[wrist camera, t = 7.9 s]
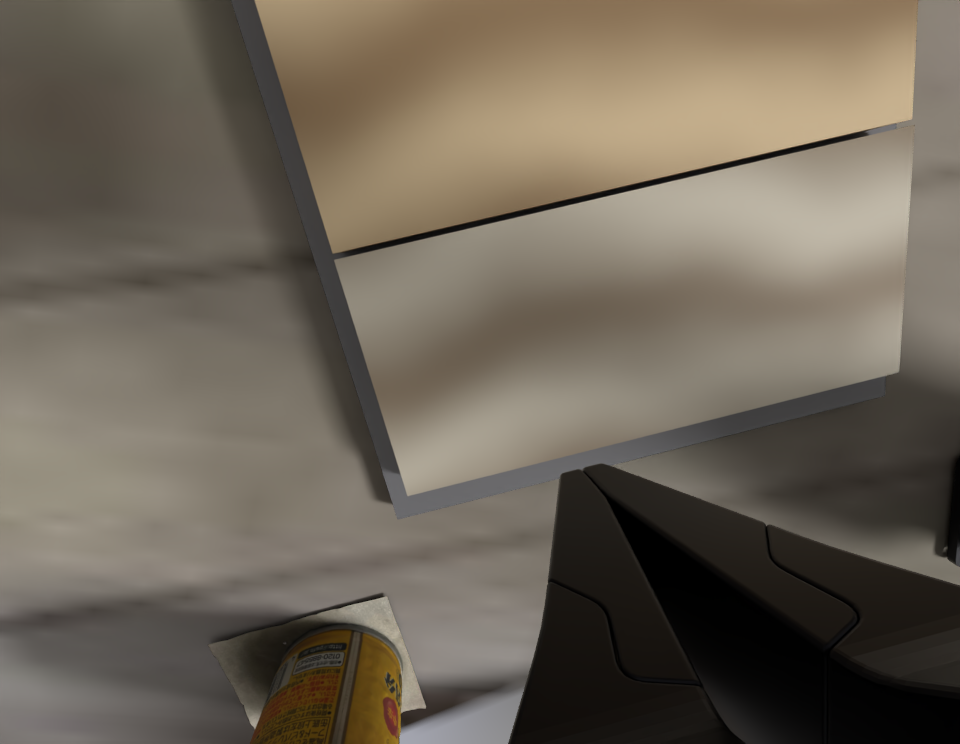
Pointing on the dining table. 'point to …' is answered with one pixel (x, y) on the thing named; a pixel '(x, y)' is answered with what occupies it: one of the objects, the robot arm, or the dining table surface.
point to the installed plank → (565, 96)
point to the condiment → (324, 677)
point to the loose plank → (636, 310)
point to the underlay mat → (325, 258)
